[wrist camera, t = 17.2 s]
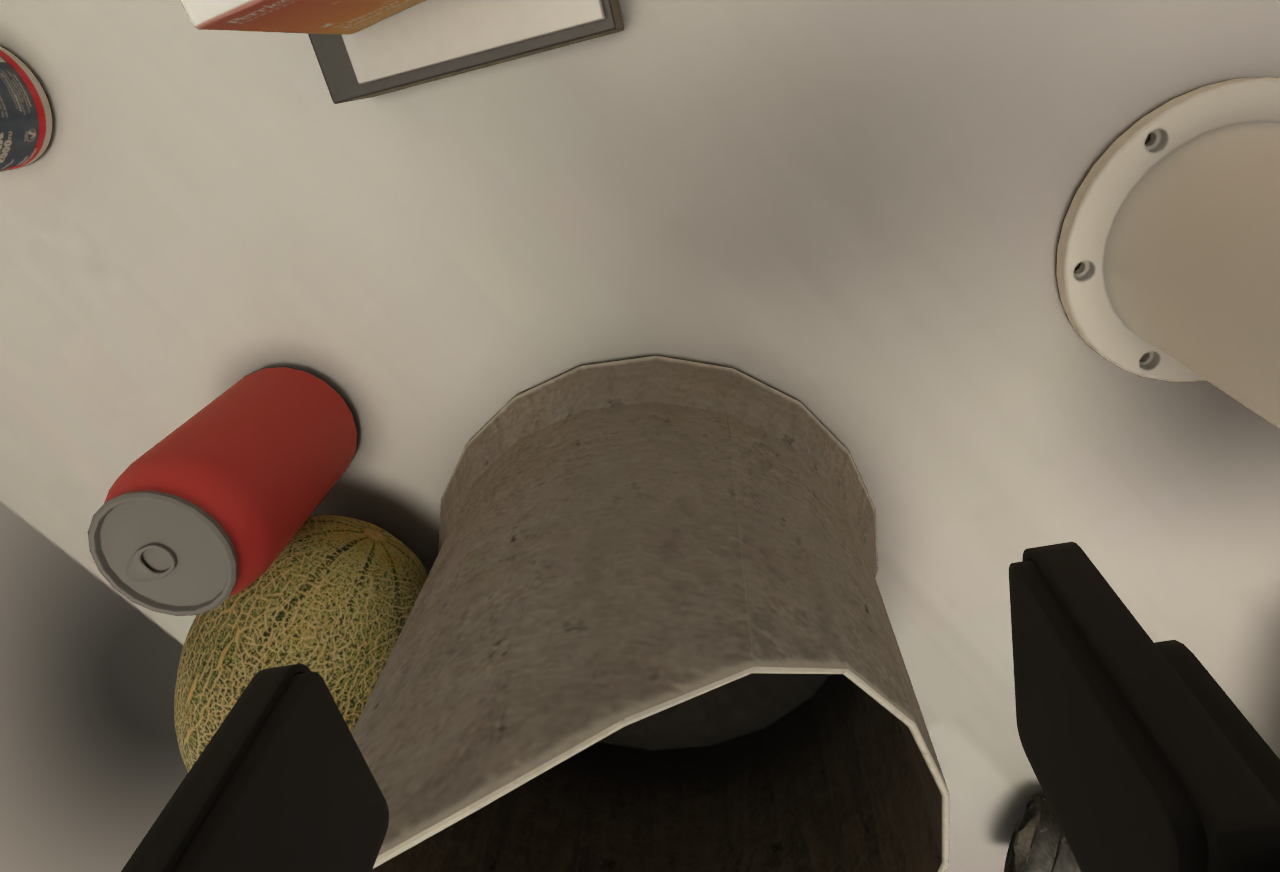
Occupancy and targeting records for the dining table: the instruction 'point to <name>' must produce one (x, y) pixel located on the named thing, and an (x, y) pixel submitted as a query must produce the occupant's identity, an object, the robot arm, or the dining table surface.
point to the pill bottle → (21, 114)
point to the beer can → (223, 492)
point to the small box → (292, 14)
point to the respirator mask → (1039, 842)
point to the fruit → (301, 624)
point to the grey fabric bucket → (653, 647)
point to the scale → (454, 41)
